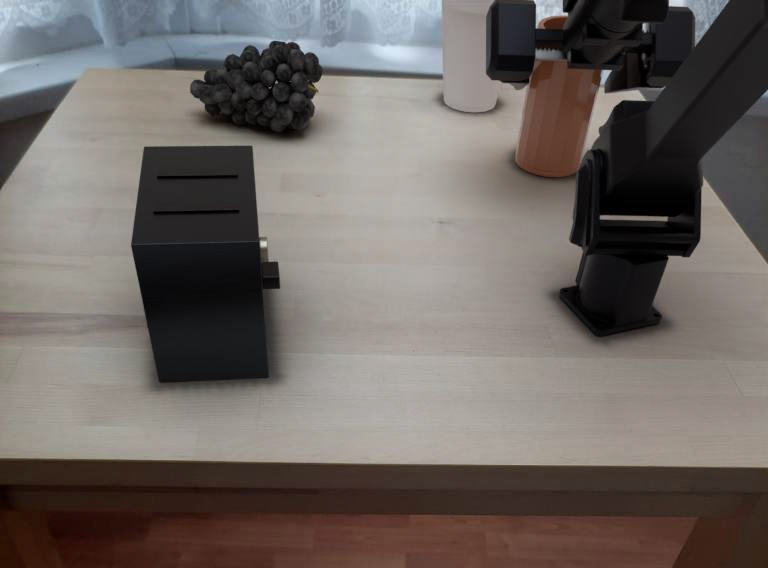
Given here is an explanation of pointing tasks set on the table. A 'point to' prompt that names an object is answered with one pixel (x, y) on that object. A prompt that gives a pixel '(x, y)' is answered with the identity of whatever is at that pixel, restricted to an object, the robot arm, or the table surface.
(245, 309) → the toaster
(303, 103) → the fruit
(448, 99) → the foam cup
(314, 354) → the table surface
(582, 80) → the brown cylindrical vase
